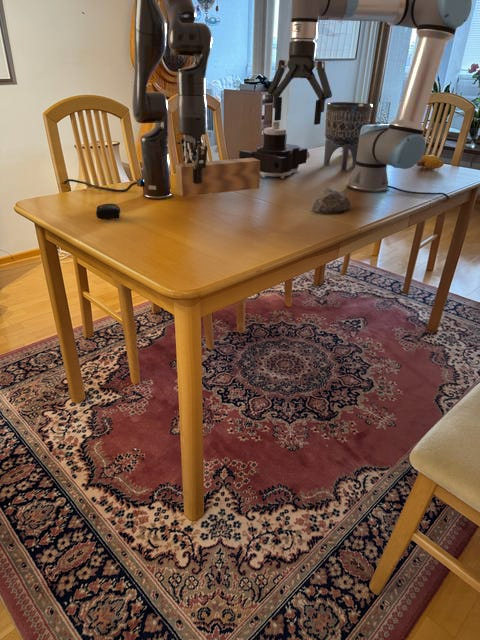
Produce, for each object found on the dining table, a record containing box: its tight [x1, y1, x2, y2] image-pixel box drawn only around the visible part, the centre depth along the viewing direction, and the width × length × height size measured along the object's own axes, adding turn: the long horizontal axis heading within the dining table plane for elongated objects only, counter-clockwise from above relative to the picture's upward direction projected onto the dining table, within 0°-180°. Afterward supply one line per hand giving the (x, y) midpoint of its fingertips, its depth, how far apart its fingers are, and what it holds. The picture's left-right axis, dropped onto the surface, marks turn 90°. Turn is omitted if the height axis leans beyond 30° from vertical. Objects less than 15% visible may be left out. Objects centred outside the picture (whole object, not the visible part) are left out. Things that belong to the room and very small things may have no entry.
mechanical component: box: [238, 120, 311, 179], centre depth 191 cm, size 22×21×30 cm
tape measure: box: [95, 203, 121, 221], centre depth 137 cm, size 7×7×4 cm
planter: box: [323, 101, 374, 172], centre depth 204 cm, size 20×20×26 cm
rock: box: [312, 187, 352, 214], centre depth 148 cm, size 13×9×6 cm, turn 131°
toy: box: [416, 154, 445, 171], centre depth 211 cm, size 11×6×15 cm
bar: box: [175, 158, 261, 198], centre depth 129 cm, size 24×4×8 cm, turn 117°
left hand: (194, 181), depth 126 cm, fingers closed on bar, 4 cm apart
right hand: (296, 122), depth 139 cm, fingers open, 13 cm apart
